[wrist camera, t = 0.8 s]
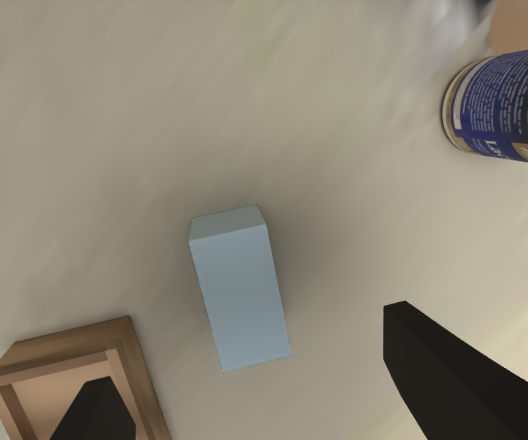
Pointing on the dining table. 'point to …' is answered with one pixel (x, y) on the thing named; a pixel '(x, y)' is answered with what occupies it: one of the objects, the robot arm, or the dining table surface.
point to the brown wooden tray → (75, 379)
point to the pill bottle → (490, 107)
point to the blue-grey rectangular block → (239, 287)
